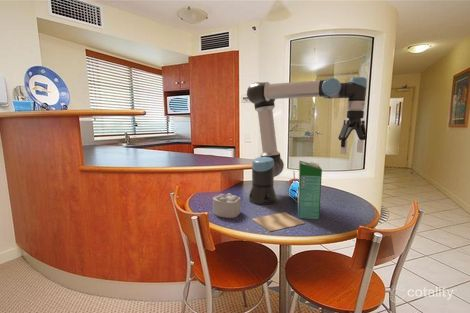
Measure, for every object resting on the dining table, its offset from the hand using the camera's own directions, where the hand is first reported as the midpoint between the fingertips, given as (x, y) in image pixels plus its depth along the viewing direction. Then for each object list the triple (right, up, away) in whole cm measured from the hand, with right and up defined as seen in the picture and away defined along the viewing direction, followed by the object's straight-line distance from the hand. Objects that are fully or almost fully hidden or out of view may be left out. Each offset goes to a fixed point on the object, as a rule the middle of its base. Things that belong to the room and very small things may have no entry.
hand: (351, 153), depth 124 cm
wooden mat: (-40, -30, -17) cm, 53 cm away
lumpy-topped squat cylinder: (-63, -29, -6) cm, 70 cm away
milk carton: (-25, -29, -9) cm, 39 cm away
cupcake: (-20, -23, +33) cm, 45 cm away
